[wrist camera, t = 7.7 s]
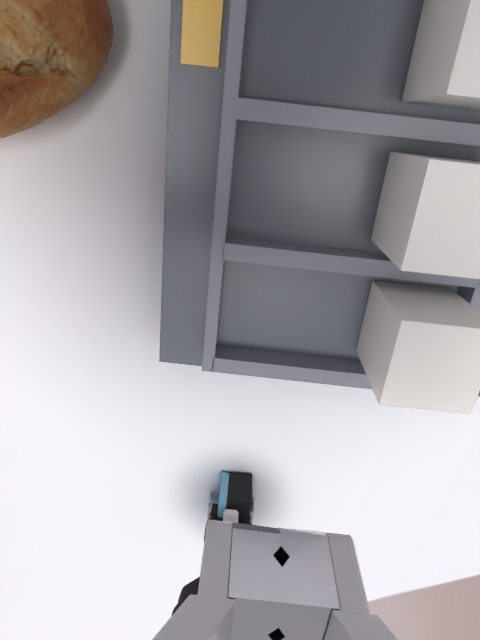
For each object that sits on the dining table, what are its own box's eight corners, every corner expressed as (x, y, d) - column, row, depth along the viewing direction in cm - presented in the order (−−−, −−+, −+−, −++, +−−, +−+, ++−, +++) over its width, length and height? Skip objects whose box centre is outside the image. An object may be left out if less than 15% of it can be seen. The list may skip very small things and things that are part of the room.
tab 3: (372, 280, 22) (401, 320, 18) (452, 288, 22) (502, 331, 18) (356, 351, 24) (379, 404, 19) (430, 359, 24) (470, 414, 19)
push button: (263, 541, 33) (265, 702, 24) (191, 534, 33) (165, 693, 24) (274, 470, 30) (280, 622, 21) (195, 463, 30) (167, 611, 21)
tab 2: (390, 151, 20) (429, 158, 15) (479, 161, 20) (545, 172, 15) (370, 239, 21) (400, 270, 17) (452, 248, 21) (505, 282, 17)
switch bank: (183, -83, 19) (167, -126, 15) (612, -34, 19) (686, -67, 15) (166, 345, 27) (153, 375, 23) (466, 377, 27) (494, 412, 23)
